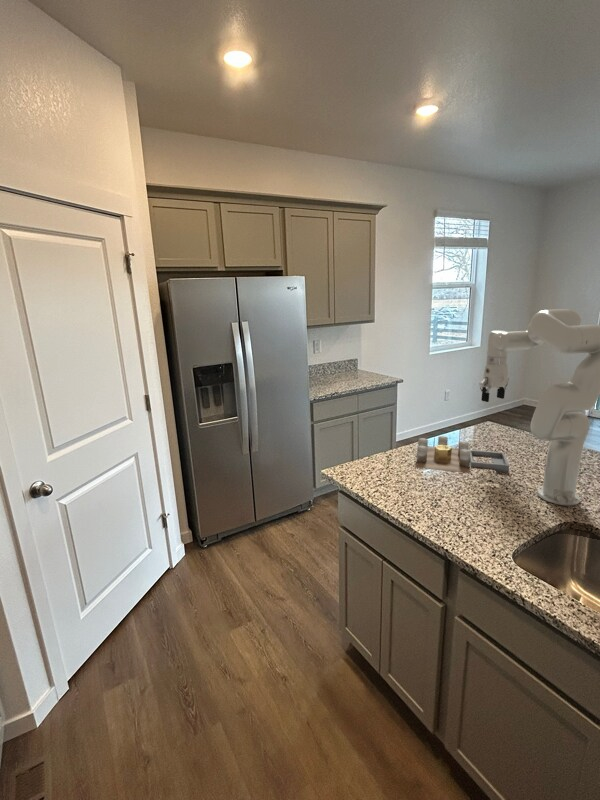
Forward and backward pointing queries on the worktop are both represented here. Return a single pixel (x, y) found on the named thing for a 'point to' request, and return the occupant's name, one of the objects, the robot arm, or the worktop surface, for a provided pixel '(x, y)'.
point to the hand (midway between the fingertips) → (492, 399)
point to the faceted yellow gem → (442, 452)
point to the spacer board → (456, 463)
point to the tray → (497, 458)
